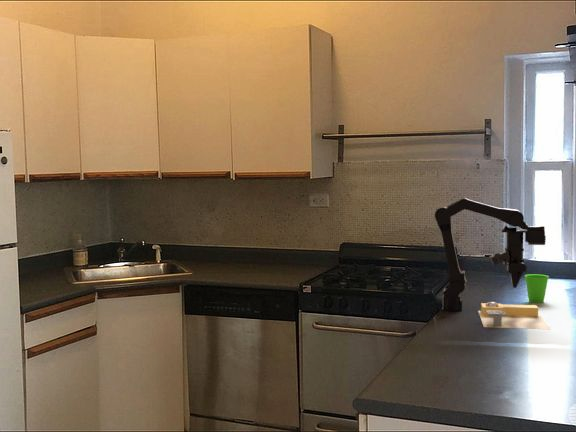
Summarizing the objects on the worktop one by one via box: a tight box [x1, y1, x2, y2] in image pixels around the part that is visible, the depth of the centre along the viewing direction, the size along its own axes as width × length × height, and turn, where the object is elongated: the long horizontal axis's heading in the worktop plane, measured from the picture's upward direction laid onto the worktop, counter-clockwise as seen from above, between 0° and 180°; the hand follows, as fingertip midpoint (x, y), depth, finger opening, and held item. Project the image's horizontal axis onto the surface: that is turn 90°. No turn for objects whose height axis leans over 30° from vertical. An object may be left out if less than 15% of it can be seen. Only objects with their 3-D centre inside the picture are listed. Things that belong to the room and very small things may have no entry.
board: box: [477, 310, 551, 330], centre depth 241 cm, size 21×25×1 cm
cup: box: [524, 273, 550, 304], centre depth 270 cm, size 9×9×11 cm
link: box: [480, 302, 539, 316], centre depth 249 cm, size 19×7×3 cm, turn 79°
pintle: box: [487, 301, 497, 307], centre depth 250 cm, size 3×3×4 cm
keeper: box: [486, 310, 507, 327], centre depth 234 cm, size 7×6×4 cm
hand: (514, 287), depth 251 cm, fingers closed
